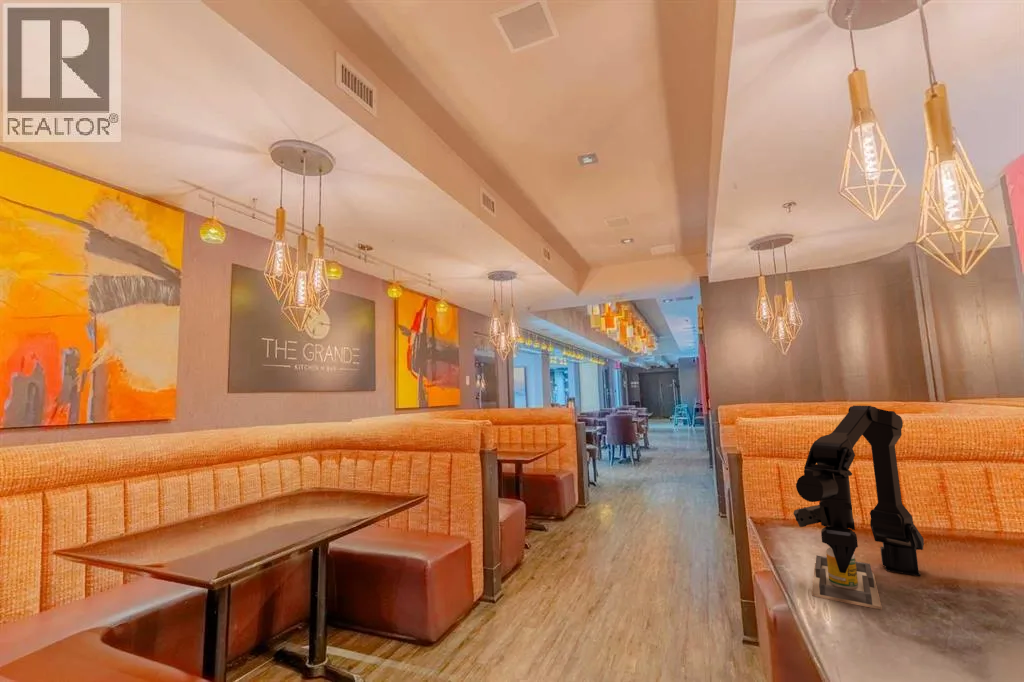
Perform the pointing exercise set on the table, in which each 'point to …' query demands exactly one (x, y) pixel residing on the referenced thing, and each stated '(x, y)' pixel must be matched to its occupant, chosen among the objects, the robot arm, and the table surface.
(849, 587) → the supplement bottle
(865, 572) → the grey flat frame
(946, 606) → the table surface
